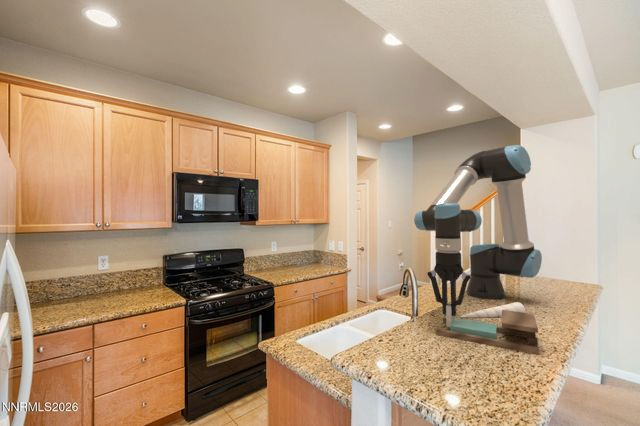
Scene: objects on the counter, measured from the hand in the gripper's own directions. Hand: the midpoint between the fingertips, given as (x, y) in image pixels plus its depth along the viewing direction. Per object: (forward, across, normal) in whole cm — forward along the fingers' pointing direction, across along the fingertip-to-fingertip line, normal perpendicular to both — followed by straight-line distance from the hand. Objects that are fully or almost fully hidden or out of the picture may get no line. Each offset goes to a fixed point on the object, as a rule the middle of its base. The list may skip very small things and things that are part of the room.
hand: (449, 325), depth 92 cm
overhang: (+1, +10, +1) cm, 10 cm away
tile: (+2, +7, 0) cm, 7 cm away
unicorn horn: (+2, +11, +21) cm, 24 cm away
